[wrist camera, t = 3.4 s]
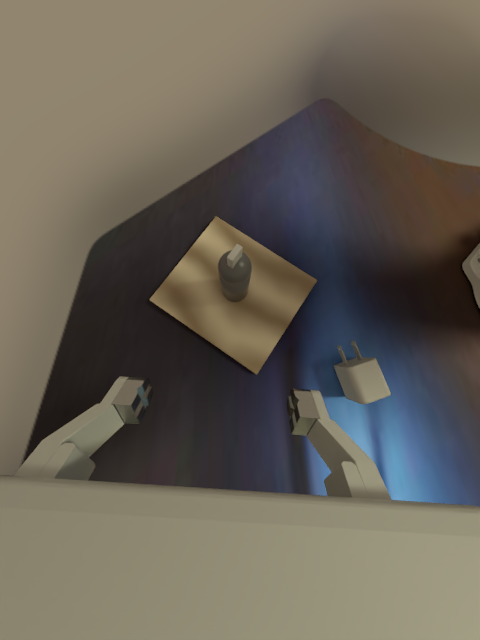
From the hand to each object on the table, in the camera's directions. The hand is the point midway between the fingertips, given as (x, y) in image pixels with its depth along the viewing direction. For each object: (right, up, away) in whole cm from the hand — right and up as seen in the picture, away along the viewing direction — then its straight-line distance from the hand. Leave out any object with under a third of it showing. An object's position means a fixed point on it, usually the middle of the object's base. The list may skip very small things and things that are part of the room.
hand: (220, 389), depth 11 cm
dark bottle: (0, +8, +16) cm, 18 cm away
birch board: (0, +8, +17) cm, 19 cm away
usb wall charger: (+16, -3, +16) cm, 23 cm away
